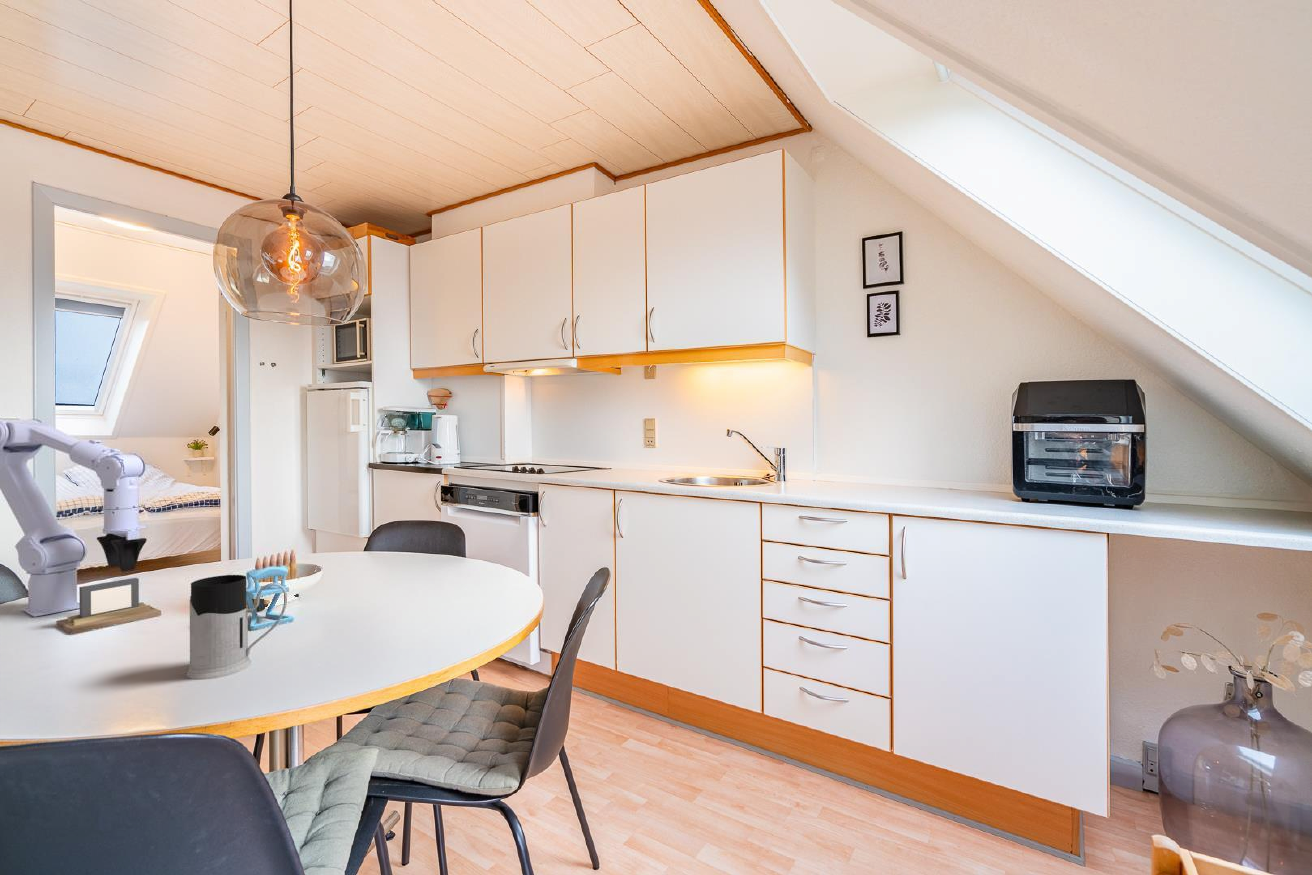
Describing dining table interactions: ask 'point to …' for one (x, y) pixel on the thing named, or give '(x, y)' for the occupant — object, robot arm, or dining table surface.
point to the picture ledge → (107, 619)
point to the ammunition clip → (290, 575)
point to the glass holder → (221, 626)
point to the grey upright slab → (108, 597)
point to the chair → (269, 590)
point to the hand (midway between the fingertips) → (121, 568)
